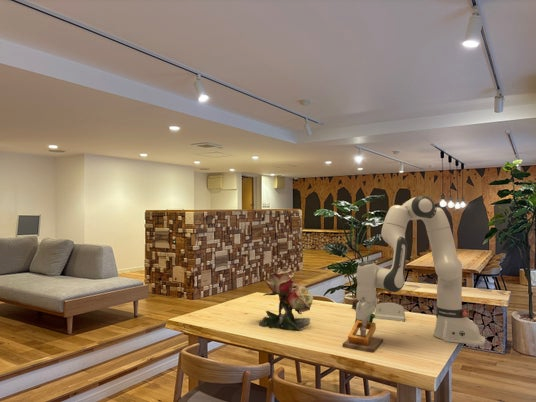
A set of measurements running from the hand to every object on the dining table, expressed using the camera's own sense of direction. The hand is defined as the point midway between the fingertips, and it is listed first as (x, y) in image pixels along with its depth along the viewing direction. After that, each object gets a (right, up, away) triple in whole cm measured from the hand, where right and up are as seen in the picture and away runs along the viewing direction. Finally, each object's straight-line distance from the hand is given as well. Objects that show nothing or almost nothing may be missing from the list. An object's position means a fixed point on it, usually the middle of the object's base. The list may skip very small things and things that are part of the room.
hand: (365, 325), depth 186 cm
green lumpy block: (+7, -8, +27) cm, 29 cm away
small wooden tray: (-3, -3, -4) cm, 6 cm away
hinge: (+23, -9, +39) cm, 46 cm away
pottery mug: (+11, -9, +61) cm, 62 cm away
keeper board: (-3, -7, -6) cm, 9 cm away
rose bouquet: (-35, -8, +29) cm, 46 cm away
